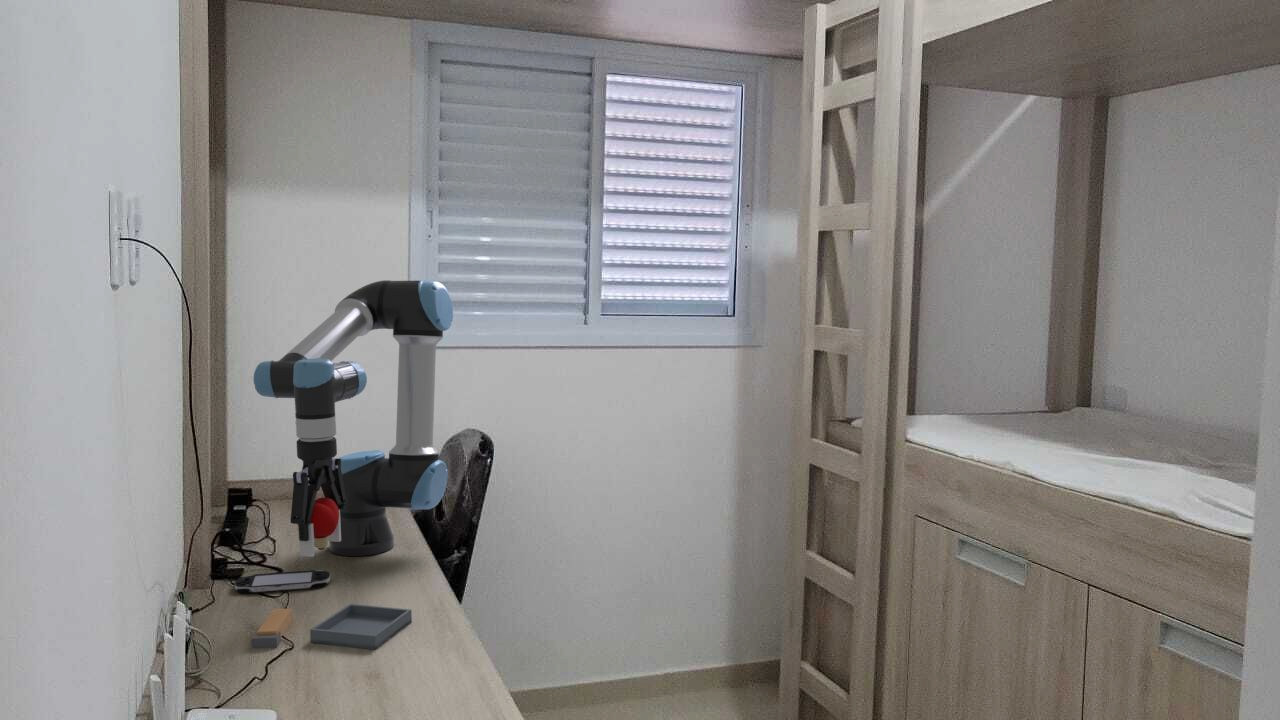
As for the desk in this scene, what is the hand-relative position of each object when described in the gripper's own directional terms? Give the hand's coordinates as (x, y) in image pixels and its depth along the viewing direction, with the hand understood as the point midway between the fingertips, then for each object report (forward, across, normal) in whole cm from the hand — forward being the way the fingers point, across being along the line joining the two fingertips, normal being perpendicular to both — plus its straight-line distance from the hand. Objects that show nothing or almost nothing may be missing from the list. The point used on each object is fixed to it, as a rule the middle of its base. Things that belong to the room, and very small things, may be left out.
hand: (321, 548), depth 206 cm
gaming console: (+13, -10, -16) cm, 23 cm away
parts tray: (+12, +10, +14) cm, 21 cm away
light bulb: (0, 0, 0) cm, 0 cm away
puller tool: (+12, +15, -2) cm, 19 cm away
